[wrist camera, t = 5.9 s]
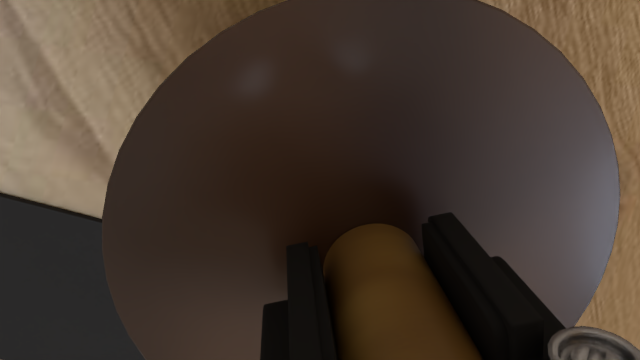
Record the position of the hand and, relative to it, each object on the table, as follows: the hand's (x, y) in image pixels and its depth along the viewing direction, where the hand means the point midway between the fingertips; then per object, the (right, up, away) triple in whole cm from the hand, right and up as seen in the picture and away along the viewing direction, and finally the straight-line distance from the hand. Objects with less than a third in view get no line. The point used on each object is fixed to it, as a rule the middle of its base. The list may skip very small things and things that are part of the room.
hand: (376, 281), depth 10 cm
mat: (-24, -7, +25) cm, 35 cm away
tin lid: (0, 0, +1) cm, 1 cm away
